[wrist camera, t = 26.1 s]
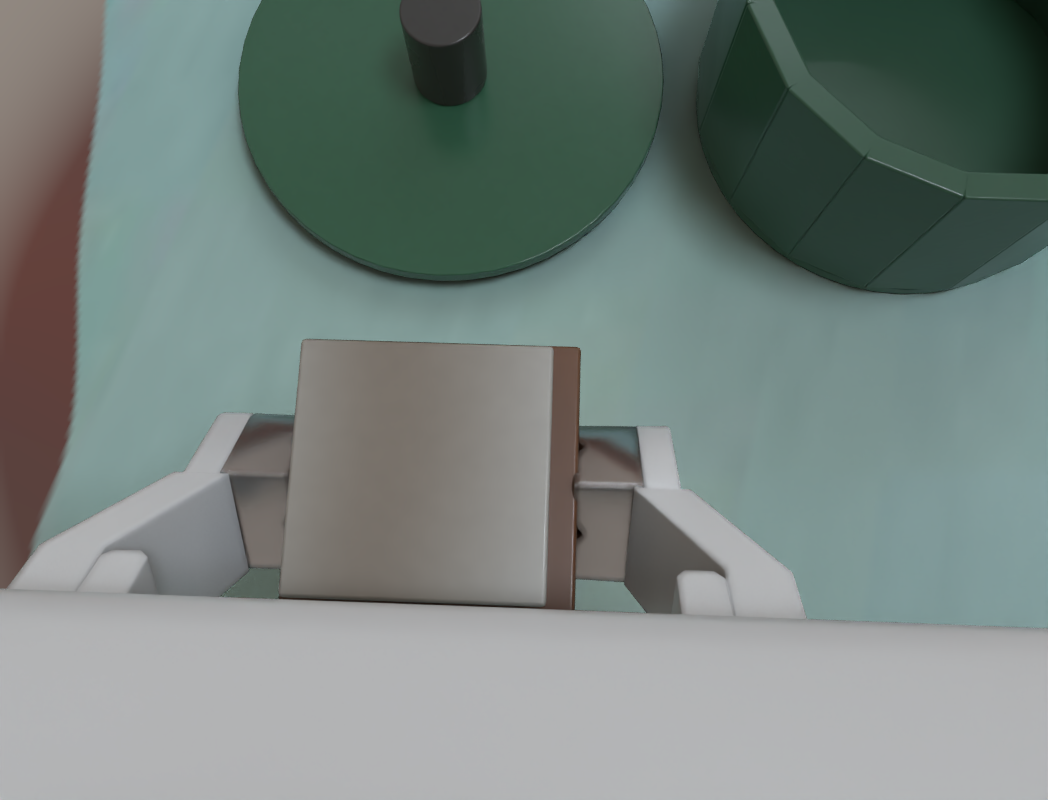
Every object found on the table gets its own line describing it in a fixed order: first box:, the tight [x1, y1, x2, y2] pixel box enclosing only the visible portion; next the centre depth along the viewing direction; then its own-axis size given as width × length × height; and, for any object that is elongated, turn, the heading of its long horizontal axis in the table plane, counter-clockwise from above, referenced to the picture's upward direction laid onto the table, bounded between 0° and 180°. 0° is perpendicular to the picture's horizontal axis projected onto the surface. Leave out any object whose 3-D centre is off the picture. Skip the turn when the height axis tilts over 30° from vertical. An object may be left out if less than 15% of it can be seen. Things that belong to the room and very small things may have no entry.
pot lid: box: [238, 0, 664, 281], centre depth 29 cm, size 15×15×5 cm
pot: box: [696, 0, 1048, 294], centre depth 28 cm, size 14×14×8 cm
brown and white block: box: [278, 339, 581, 610], centre depth 15 cm, size 4×4×8 cm
